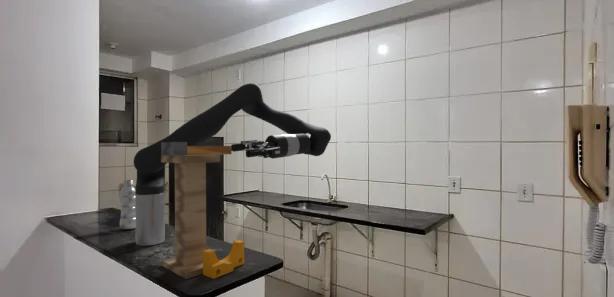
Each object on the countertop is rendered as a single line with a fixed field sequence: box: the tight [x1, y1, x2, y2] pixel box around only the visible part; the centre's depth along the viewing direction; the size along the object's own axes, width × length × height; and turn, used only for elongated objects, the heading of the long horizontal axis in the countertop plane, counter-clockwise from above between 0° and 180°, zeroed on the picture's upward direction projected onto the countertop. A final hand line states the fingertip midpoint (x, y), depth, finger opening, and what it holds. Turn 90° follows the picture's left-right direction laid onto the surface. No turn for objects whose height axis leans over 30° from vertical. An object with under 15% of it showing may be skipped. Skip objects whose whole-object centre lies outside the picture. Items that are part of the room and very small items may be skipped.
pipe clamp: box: [202, 239, 245, 279], centre depth 88 cm, size 12×4×6 cm, turn 143°
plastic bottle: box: [118, 179, 136, 231], centre depth 133 cm, size 6×7×20 cm
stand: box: [161, 154, 221, 280], centre depth 90 cm, size 14×10×31 cm
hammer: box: [161, 142, 232, 156], centre depth 93 cm, size 8×19×4 cm, turn 136°
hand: (238, 150), depth 97 cm, fingers open, 8 cm apart
